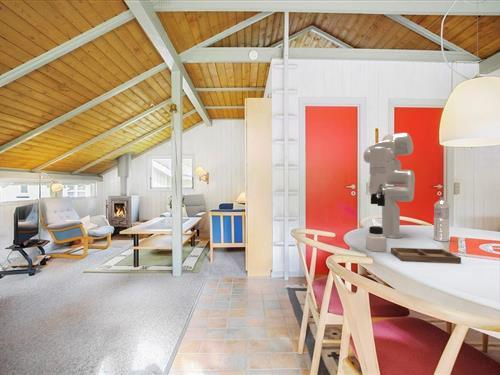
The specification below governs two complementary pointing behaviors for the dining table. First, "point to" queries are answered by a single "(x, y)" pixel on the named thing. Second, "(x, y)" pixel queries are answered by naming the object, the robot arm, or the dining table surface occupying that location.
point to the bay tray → (425, 255)
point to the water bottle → (441, 220)
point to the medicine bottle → (376, 239)
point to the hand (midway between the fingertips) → (377, 204)
